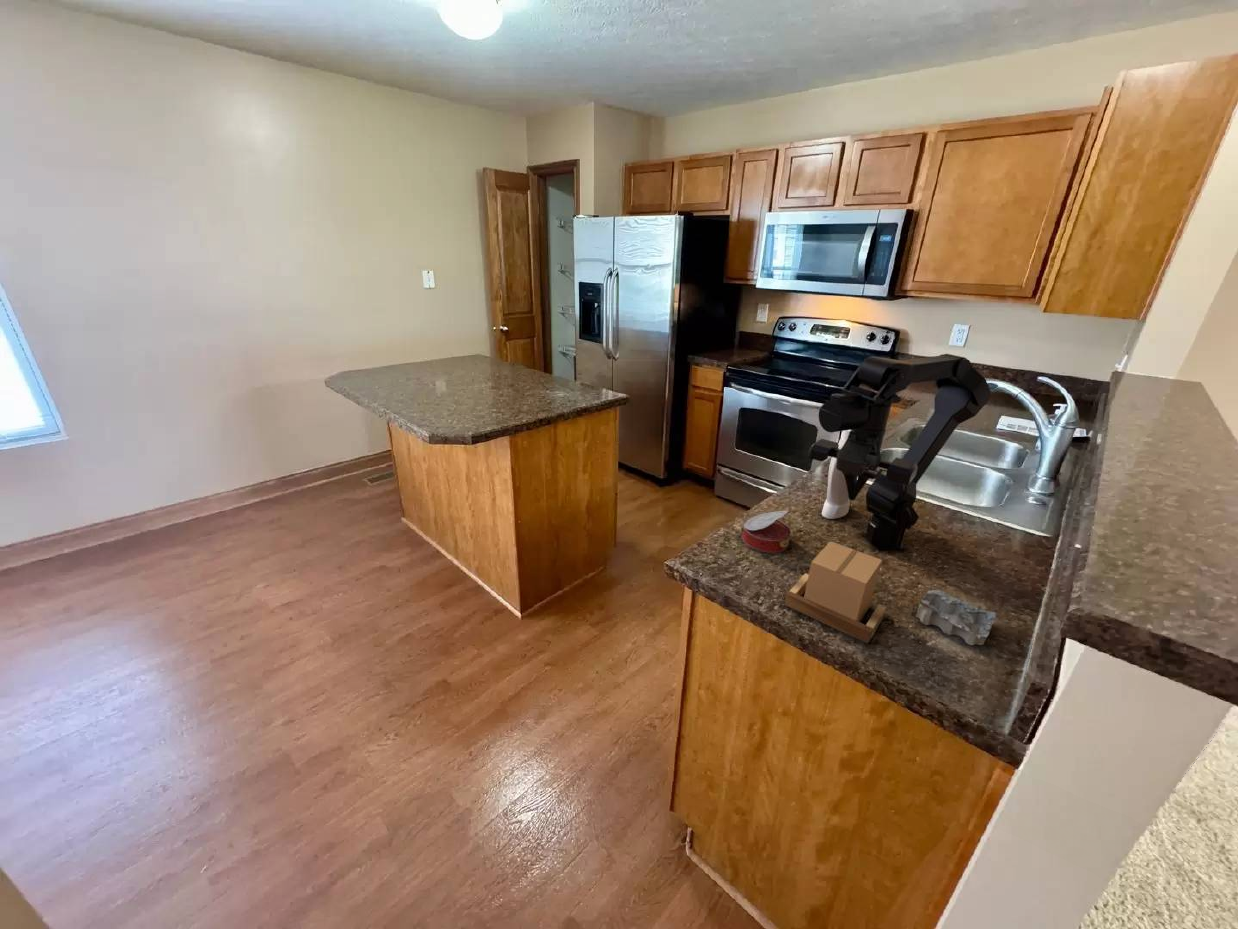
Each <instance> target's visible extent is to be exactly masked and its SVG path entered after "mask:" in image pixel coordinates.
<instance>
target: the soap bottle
mask: <svg viewBox="0 0 1238 929" xmlns="http://www.w3.org/2000/svg"><path fill="white" fill-rule="evenodd" d="M850 431H851V430H845V431H841V434H840V439H839V441H838V442H837V443H838V445H839V447H838V449H841V448H842V447H843V445H844V444H845V442H846V440H847V439H848V435H849V433H850ZM836 464H837V458H833V457H830V462H829V467H828V474H827V491H826V499H825V501H824V504H823V507H822V510H821V515H822V517H823V518H825V519H828V520H835V519H839V518H842V517H845V516H846V515H847V514H848V513H849V510H850V506H851V505H850V504H851V500H850V499H849V496H848V490H847V484H846V480H845V477H844V474H843V473H842V472H841V471H839V470H837V469H836Z"/></svg>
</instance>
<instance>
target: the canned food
mask: <svg viewBox="0 0 1238 929" xmlns="http://www.w3.org/2000/svg"><path fill="white" fill-rule="evenodd" d="M789 512H790V510H786V509H785V510H776V511H769V512H766V513H761V514H758V515H755V516H753V517H750V518H748V519H747V520H746V521H745V522H744V523H743V529H742V535H741V537H742V541H743V543H744V544H745V545H746V546H748V547H749V548H752V549H753V550H756V551H759V552H762V553H768V554H769V553H771V554H773V553H779V552H780V553H781V552H783V551H785V550H787V548H788V547H789V543H790V537H791V528H790V527H789V526H788V525H787V524H785V523H784V522H782V521H781V520H780V519H782V518H784V517H785V516H786V515H787V514H788V513H789Z"/></svg>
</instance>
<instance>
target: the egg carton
mask: <svg viewBox="0 0 1238 929" xmlns="http://www.w3.org/2000/svg"><path fill="white" fill-rule="evenodd" d="M918 604H919V605H918V609H917V612H916V614H915V617H916V618H917V619H919V620H920V622H921V624H923V625H925V626H930V625H932V626H936V627H939V629H941V630H942V633H943V634H946V635H949V636H952V635H956V636H959V637H961V638H962V639H963V640H964V641H965V644H968V645H970V646H975V645H979V646H984V644H985V641H986V639H987V638H988V636H989V635H990V630H992V626H993V624H994V622H995V620H996V615H997V612H994V611H990V610H986V609H981V608H979V607H978V606H973V605H972V604H971V602H968V601H967V602H966V601H964V600H962V599H959V598H956V597H953V596H951V595H950V594H948V593H947V592H945V591H943V590H941V589H940V590H939V589H933V590H927V591H926V592H925V594H924V595H923V597H922V598H921V599H920V601H919V602H918Z"/></svg>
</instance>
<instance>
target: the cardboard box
mask: <svg viewBox="0 0 1238 929" xmlns="http://www.w3.org/2000/svg"><path fill="white" fill-rule="evenodd" d="M882 564H883V559H881V558H878V557H875V556H873V555H870V554H867V553H864V552H862V551H859V550H858V549H854V548H850V547H847V546H845V545H842V544H840V543H837V542H834V541H829V542H828V543H827V544H826V545H825V546H824V548H823V549H822V550H821V551H820V552H819V553H818V554H817V555H816V556H815V557H814V558H813V560H812V561H811V562H810V566H809V572H808V574H809V576H808V581H807V586H806V591H805V592H804V596H803V597H804V598H806V599H808V600H811V601H813V602H815V603H817V604H820V605H822V606H824V607H826V608H828V609H831V610H833V611H835V612H837V613H840V614H842V615H844V616H846V617H849V618H851V619H853V620H855V621H858V622H860V623H861V621H862V619H864V617H865V615H866V613H867V612H868V610H869V608H870V607H871V604H872V599H873V596H874V593H875V589H876V585H877V583H878V582H877V581H878V578H879V574H880V572H881V567H882Z"/></svg>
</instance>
